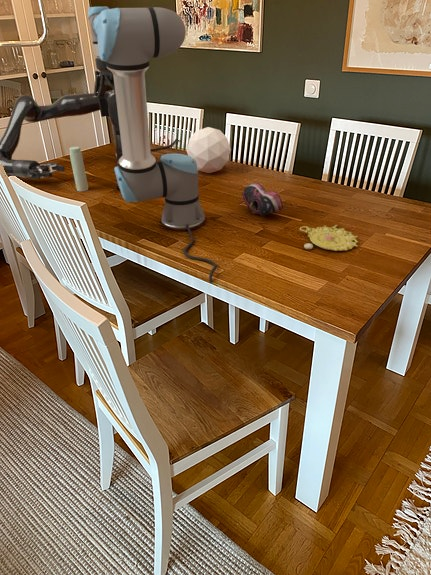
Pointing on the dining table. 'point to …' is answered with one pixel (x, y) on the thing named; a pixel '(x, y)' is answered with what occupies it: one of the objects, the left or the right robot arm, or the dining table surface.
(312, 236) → the decorative object
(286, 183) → the dining table surface
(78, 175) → the pale green capped tube
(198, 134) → the sphere
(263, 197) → the athletic shoe
